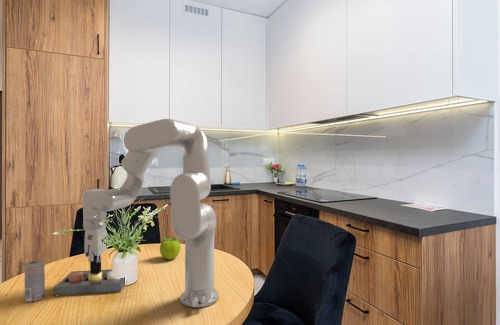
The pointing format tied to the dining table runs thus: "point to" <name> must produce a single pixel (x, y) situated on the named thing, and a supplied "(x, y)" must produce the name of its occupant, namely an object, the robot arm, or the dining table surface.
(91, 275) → the mustard button
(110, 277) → the ivory button
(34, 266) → the energy drink
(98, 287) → the grey compartment tray
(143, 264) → the dining table surface
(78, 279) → the brick button
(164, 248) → the fruit
